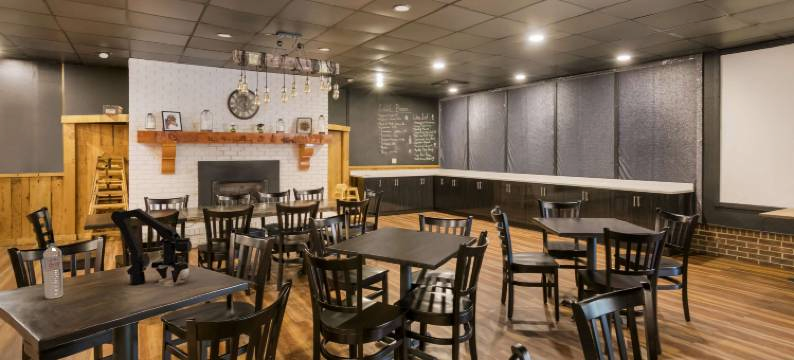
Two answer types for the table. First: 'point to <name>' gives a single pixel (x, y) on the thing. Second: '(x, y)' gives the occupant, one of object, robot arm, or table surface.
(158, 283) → the mat
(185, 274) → the bowl
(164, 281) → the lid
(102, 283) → the table surface
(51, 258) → the water bottle
